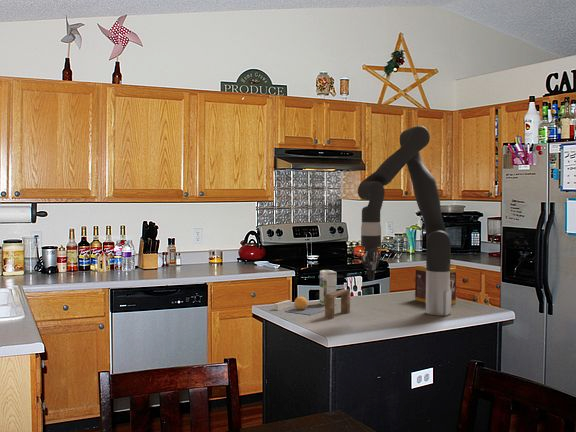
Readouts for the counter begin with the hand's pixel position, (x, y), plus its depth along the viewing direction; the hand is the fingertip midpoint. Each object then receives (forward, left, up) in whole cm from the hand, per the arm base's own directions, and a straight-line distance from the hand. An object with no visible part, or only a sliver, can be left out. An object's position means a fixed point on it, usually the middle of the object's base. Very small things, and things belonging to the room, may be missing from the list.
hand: (371, 279), depth 233 cm
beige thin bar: (+40, +1, -15) cm, 43 cm away
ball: (+32, 0, -13) cm, 34 cm away
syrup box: (+29, -17, -16) cm, 37 cm away
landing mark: (+29, +1, -15) cm, 33 cm away
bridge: (+14, +1, -15) cm, 21 cm away
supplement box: (-7, -49, -16) cm, 52 cm away
